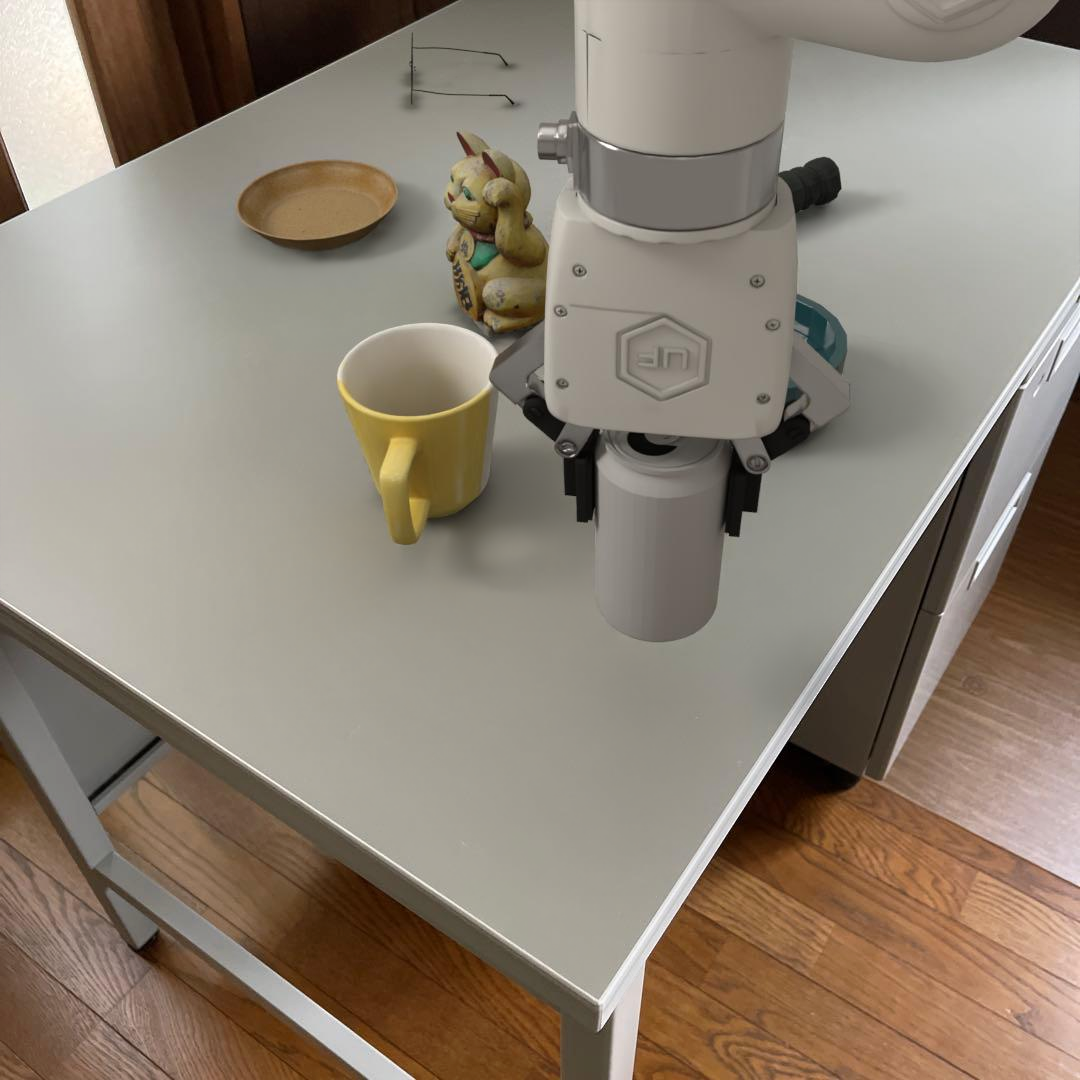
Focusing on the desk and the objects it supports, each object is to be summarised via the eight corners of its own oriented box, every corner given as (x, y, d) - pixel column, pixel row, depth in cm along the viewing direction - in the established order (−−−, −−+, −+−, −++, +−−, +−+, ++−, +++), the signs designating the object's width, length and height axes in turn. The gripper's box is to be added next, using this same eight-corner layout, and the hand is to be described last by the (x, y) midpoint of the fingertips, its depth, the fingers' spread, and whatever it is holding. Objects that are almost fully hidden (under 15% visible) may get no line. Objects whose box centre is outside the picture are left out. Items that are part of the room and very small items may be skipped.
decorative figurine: (435, 301, 93) (418, 128, 82) (517, 271, 96) (511, 101, 85) (495, 357, 87) (485, 178, 77) (581, 323, 90) (583, 147, 80)
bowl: (832, 359, 86) (845, 292, 82) (833, 465, 77) (848, 397, 73) (668, 344, 88) (673, 278, 84) (651, 447, 79) (655, 379, 75)
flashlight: (625, 258, 97) (627, 206, 94) (803, 194, 105) (811, 143, 101) (659, 283, 94) (663, 230, 91) (840, 215, 102) (849, 164, 98)
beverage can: (570, 604, 59) (564, 428, 50) (655, 544, 62) (662, 369, 53) (657, 672, 55) (665, 496, 47) (742, 606, 58) (764, 428, 50)
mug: (396, 430, 81) (379, 308, 73) (528, 459, 78) (523, 335, 71) (309, 558, 72) (279, 434, 64) (454, 595, 69) (441, 470, 62)
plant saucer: (373, 271, 96) (369, 244, 95) (215, 256, 99) (209, 230, 97) (420, 190, 107) (417, 165, 105) (276, 178, 109) (271, 153, 107)
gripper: (427, 197, 40) (469, 547, 52) (925, 221, 37) (844, 584, 50) (472, 108, 45) (501, 446, 58) (912, 124, 42) (841, 474, 55)
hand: (660, 507), depth 54 cm, fingers closed on beverage can, 6 cm apart
